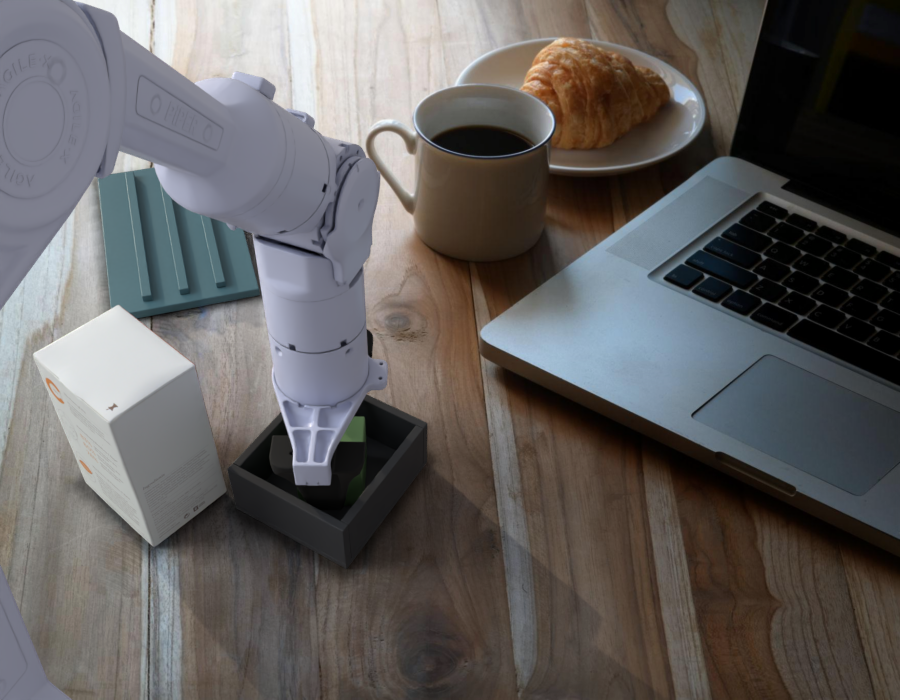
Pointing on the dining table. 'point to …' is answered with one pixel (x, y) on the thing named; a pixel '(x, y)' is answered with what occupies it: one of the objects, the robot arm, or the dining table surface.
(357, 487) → the block
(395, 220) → the dining table surface
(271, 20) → the dining table surface
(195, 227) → the drainboard
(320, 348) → the robot arm
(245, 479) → the dark grey open tray
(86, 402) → the small box
